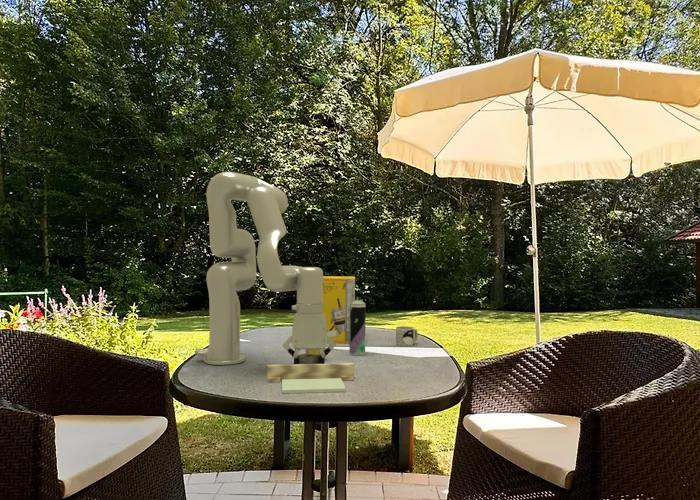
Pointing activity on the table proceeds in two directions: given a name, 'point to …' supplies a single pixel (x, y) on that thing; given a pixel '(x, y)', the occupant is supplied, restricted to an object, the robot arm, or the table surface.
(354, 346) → the spray can
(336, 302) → the packaging box
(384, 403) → the table surface
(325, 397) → the table surface
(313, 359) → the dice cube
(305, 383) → the pad
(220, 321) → the robot arm
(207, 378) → the table surface
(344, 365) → the wooden barrier
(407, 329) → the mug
